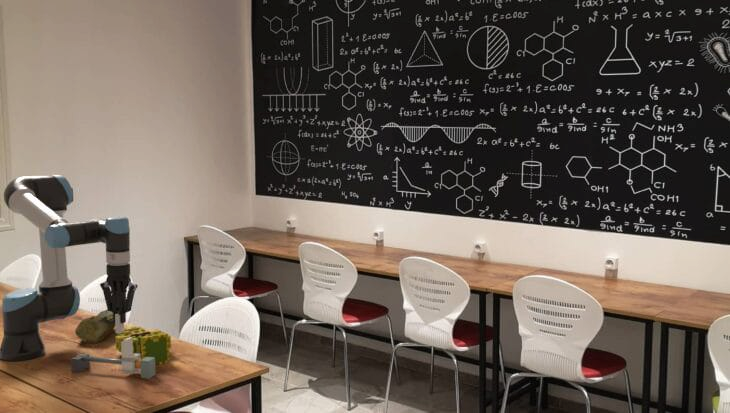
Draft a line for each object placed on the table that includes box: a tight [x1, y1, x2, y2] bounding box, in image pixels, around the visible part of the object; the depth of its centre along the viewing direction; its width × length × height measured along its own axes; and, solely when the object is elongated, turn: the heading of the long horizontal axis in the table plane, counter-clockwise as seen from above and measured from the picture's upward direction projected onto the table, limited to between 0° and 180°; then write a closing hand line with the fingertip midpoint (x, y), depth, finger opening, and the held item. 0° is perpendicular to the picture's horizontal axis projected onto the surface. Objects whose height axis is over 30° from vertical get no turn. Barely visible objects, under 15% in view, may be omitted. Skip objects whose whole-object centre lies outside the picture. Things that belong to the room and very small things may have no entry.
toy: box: [114, 326, 172, 365], centre depth 272 cm, size 17×10×30 cm
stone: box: [74, 309, 116, 344], centre depth 294 cm, size 15×12×25 cm
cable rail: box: [70, 352, 156, 380], centre depth 251 cm, size 29×6×6 cm, turn 75°
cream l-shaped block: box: [121, 337, 141, 375], centre depth 249 cm, size 4×5×11 cm
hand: (119, 332), depth 249 cm, fingers closed
